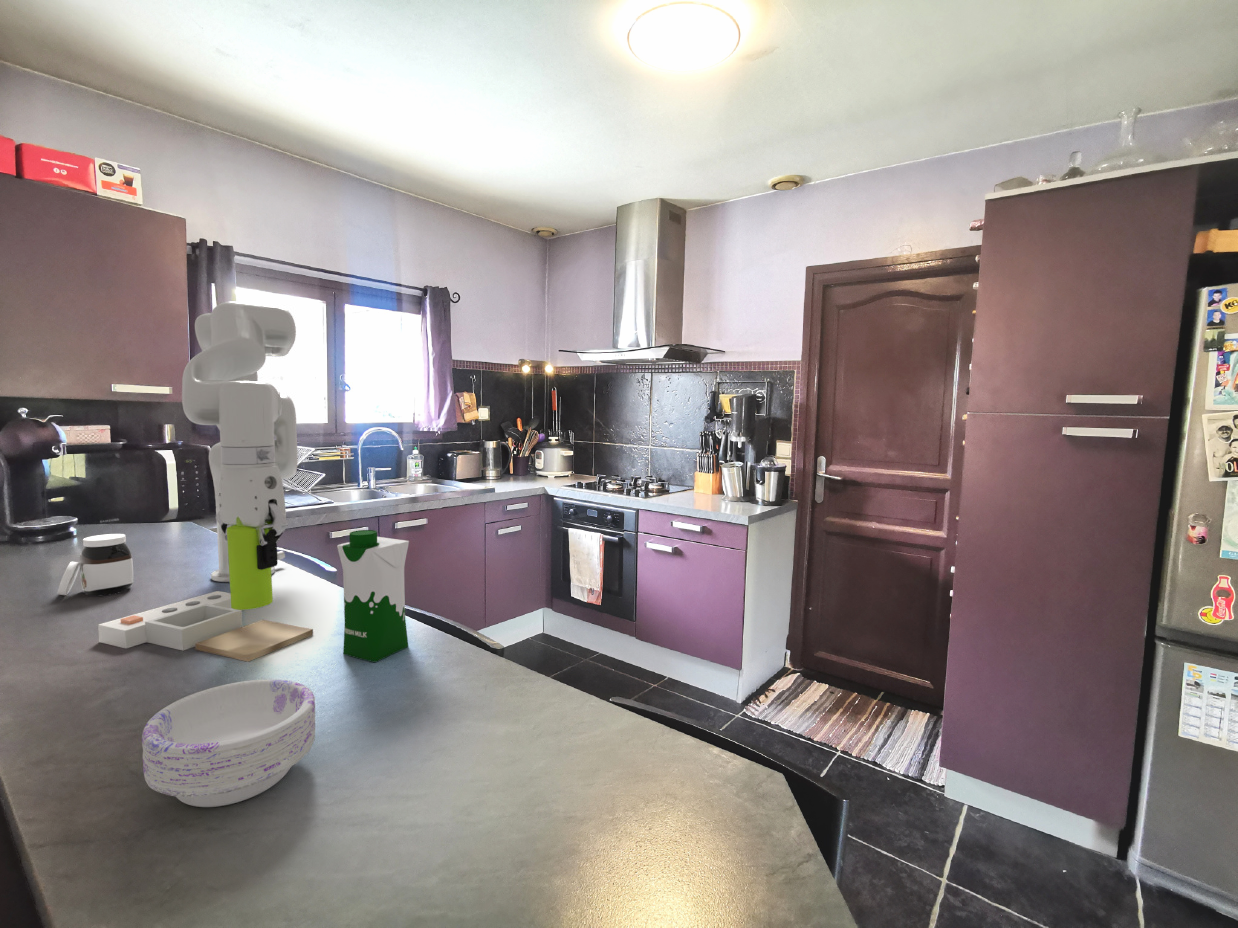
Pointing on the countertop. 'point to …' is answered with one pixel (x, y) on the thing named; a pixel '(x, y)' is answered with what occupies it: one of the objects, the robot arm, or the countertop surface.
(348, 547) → the milk carton
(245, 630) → the oak board
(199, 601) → the white holder tray
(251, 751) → the paper bowls
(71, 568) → the spread jar
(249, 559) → the soap dispenser
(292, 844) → the countertop surface
